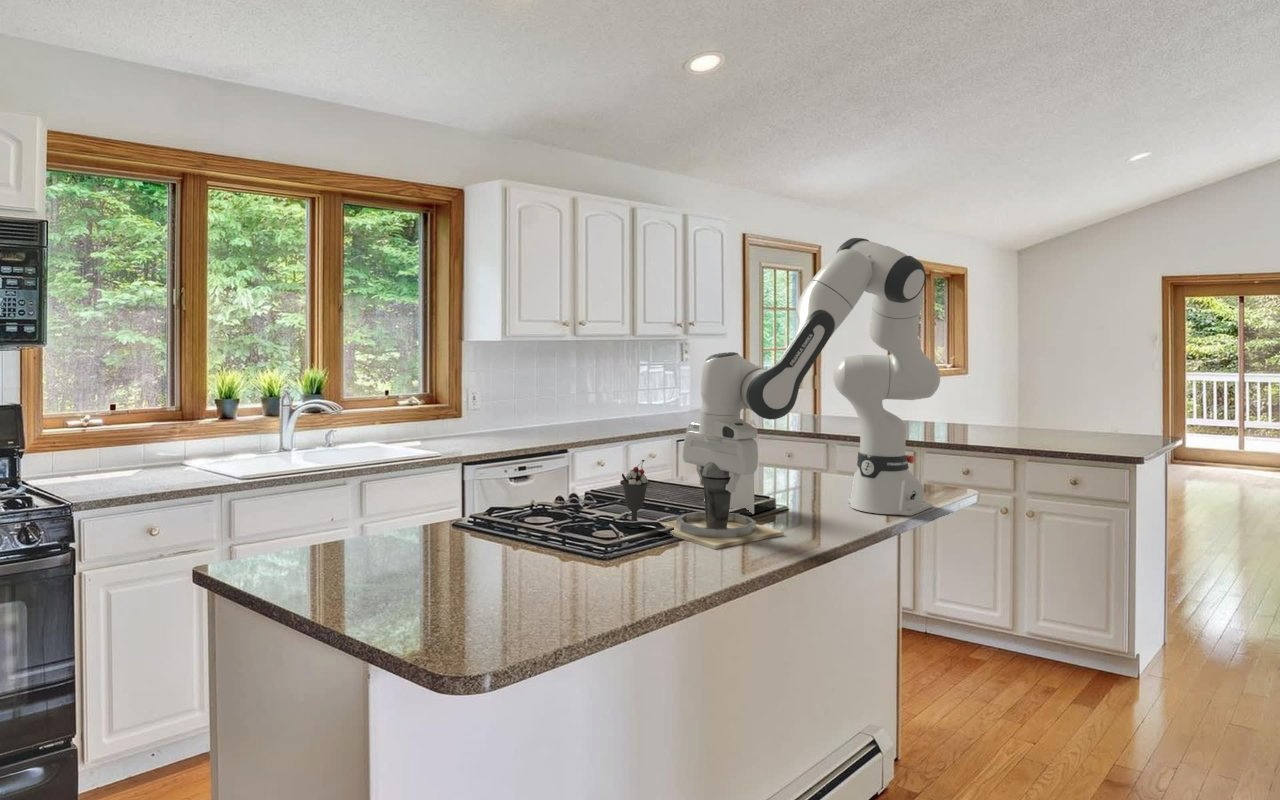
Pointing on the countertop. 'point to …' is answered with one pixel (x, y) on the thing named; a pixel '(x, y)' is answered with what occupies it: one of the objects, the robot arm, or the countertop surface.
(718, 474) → the beverage cup
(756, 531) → the ring seat
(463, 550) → the countertop surface
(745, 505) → the milk
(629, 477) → the sundae
